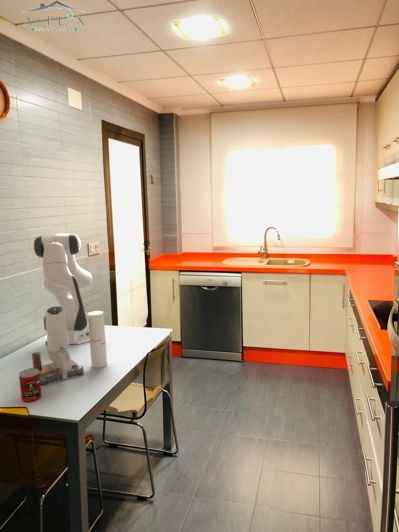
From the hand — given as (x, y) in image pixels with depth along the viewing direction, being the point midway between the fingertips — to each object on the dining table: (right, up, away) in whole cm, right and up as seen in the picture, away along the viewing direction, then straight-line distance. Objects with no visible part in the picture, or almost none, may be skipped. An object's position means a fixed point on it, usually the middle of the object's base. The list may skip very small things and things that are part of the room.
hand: (61, 374), depth 198 cm
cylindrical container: (+13, +1, +16) cm, 21 cm away
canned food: (-6, -5, -19) cm, 20 cm away
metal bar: (0, -2, 0) cm, 2 cm away
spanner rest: (-8, 0, +11) cm, 14 cm away
